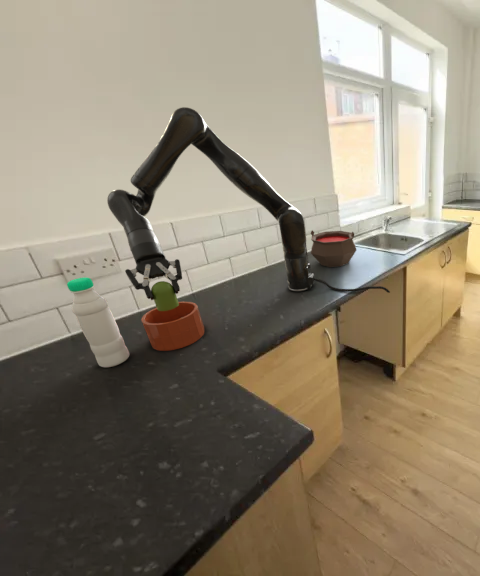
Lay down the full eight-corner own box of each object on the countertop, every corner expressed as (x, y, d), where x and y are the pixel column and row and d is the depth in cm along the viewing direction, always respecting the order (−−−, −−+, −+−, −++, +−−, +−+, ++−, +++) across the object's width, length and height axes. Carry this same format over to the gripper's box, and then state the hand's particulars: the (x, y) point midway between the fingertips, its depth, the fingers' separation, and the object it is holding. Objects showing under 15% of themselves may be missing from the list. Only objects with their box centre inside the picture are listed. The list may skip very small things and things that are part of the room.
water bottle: (136, 355, 92) (102, 276, 82) (110, 370, 86) (70, 287, 76) (119, 351, 94) (85, 273, 84) (93, 365, 88) (52, 283, 78)
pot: (212, 324, 108) (205, 300, 104) (190, 349, 94) (182, 323, 91) (168, 326, 107) (160, 302, 104) (140, 352, 94) (129, 326, 90)
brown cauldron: (364, 256, 170) (362, 225, 163) (349, 272, 149) (347, 238, 142) (322, 253, 175) (319, 224, 168) (302, 269, 154) (298, 236, 147)
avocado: (182, 302, 99) (174, 277, 96) (172, 310, 94) (164, 285, 91) (164, 302, 99) (155, 278, 95) (153, 311, 94) (143, 286, 90)
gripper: (113, 246, 89) (132, 297, 86) (172, 236, 98) (191, 283, 95) (119, 259, 95) (137, 308, 92) (174, 249, 104) (192, 293, 100)
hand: (164, 295), depth 93 cm, fingers closed on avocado, 5 cm apart
